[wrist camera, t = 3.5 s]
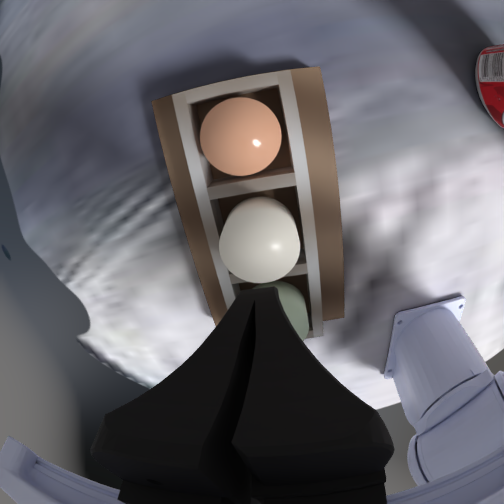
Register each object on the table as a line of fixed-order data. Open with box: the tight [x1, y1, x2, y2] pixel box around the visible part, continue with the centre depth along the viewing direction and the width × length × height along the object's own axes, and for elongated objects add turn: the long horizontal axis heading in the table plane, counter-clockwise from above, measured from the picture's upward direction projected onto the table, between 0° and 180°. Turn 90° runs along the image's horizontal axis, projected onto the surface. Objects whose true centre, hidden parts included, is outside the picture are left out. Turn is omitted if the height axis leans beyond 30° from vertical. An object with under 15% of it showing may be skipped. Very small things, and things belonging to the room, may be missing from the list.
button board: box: [151, 67, 344, 339], centre depth 17 cm, size 18×10×4 cm, turn 11°
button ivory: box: [219, 197, 300, 283], centre depth 15 cm, size 4×4×2 cm
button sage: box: [253, 281, 309, 341], centre depth 17 cm, size 4×4×2 cm
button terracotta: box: [200, 97, 281, 176], centre depth 14 cm, size 4×4×2 cm
